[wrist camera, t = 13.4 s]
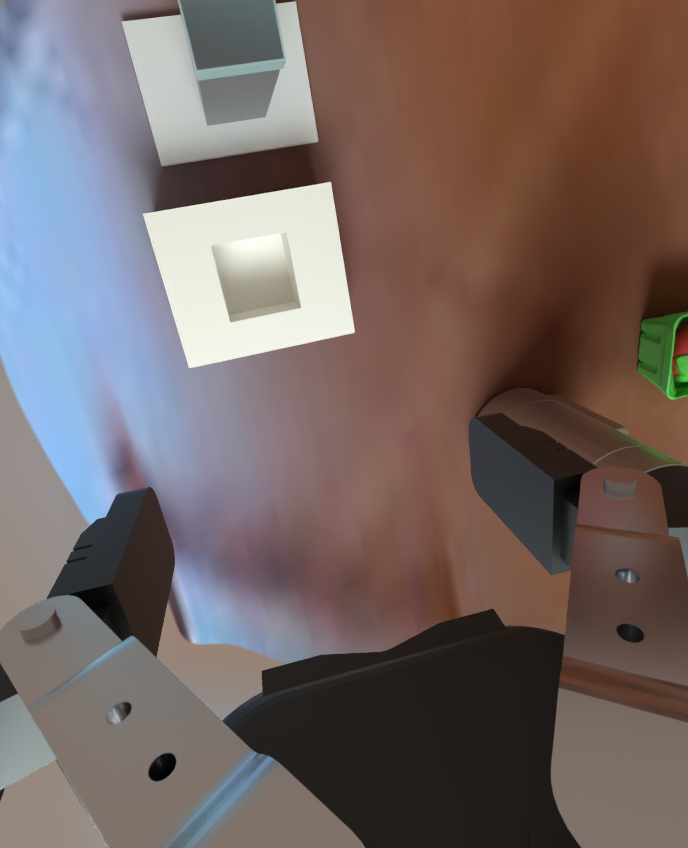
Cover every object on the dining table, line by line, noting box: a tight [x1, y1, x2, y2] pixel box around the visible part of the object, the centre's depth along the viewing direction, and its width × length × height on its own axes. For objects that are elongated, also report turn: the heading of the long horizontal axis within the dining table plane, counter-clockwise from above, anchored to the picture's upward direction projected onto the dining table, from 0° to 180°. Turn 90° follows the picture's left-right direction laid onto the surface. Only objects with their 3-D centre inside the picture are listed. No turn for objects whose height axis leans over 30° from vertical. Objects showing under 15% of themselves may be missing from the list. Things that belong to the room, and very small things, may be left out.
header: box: [143, 182, 355, 368], centre depth 35 cm, size 12×10×5 cm
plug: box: [177, 0, 286, 126], centre depth 27 cm, size 4×4×12 cm
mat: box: [122, 1, 318, 167], centre depth 33 cm, size 11×8×1 cm
